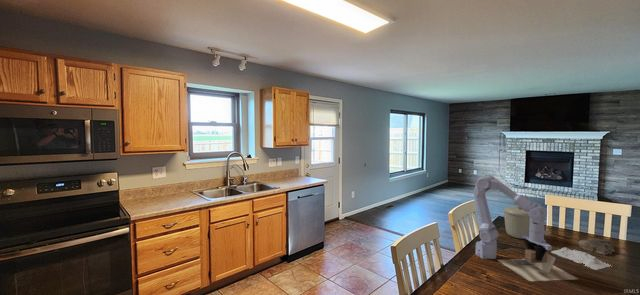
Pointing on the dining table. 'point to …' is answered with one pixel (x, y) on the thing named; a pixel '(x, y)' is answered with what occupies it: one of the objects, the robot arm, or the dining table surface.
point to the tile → (546, 264)
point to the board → (535, 271)
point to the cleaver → (556, 234)
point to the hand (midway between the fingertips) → (535, 258)
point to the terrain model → (581, 258)
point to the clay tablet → (597, 246)
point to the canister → (516, 221)
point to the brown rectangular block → (534, 256)
